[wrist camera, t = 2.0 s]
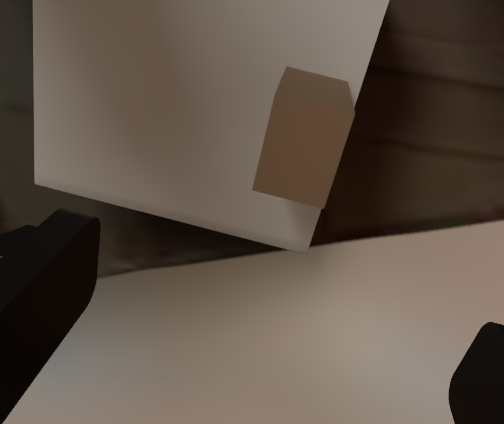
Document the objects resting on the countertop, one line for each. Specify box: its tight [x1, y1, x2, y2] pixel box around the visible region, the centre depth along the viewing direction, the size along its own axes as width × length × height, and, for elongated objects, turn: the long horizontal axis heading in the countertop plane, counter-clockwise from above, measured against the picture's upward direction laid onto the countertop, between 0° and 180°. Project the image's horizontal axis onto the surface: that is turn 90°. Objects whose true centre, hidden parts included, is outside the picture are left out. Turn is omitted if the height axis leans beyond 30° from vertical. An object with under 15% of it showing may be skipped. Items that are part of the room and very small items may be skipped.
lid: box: [33, 0, 389, 254], centre depth 21 cm, size 16×16×8 cm
